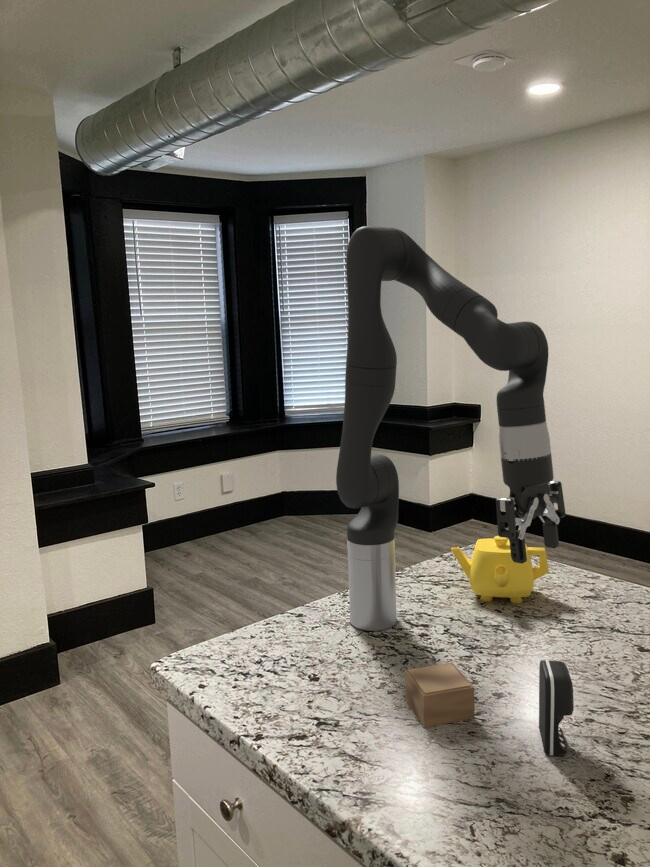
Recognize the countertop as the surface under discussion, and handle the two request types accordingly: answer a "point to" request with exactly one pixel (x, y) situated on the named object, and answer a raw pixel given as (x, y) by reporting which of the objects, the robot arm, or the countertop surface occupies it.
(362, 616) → the robot arm
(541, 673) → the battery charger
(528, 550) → the teapot
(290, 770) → the countertop surface
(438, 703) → the wooden box
